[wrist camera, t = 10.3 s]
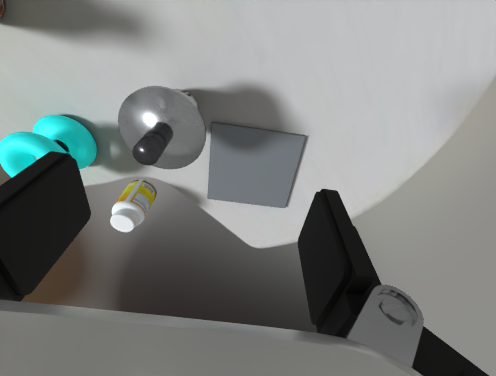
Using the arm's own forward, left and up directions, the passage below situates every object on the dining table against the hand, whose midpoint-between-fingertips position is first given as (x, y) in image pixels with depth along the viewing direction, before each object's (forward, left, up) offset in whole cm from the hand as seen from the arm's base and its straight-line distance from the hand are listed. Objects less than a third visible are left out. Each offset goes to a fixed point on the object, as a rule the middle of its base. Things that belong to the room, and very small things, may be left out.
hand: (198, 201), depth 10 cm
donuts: (+17, -29, -33) cm, 47 cm away
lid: (+8, -9, -23) cm, 26 cm away
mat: (+18, +4, -33) cm, 38 cm away
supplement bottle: (+26, -17, -33) cm, 45 cm away
